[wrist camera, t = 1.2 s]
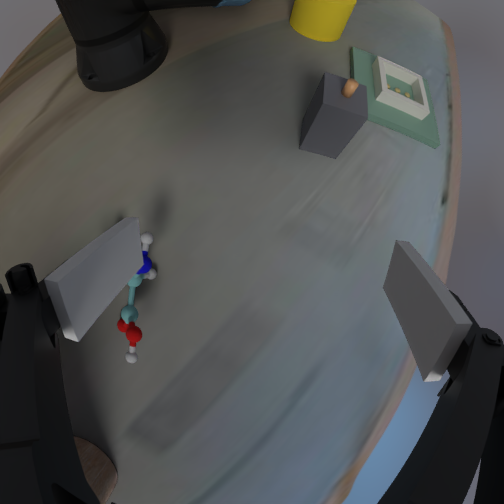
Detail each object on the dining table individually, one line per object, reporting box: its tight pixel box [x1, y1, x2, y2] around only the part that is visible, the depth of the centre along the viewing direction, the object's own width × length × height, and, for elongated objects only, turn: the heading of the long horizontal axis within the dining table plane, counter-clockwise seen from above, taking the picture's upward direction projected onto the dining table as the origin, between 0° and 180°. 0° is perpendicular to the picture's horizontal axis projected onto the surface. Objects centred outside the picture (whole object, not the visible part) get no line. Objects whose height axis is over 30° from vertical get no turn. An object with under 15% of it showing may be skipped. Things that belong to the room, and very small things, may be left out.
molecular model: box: [117, 232, 157, 363], centre depth 27 cm, size 12×10×10 cm
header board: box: [350, 47, 440, 148], centre depth 37 cm, size 16×16×4 cm
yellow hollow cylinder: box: [290, 0, 357, 42], centre depth 35 cm, size 10×10×9 cm
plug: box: [299, 72, 368, 159], centre depth 29 cm, size 5×5×12 cm
